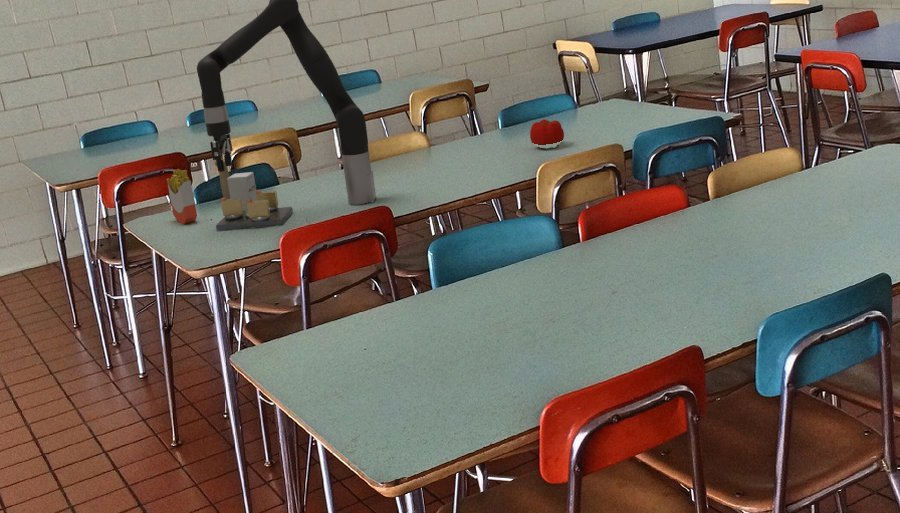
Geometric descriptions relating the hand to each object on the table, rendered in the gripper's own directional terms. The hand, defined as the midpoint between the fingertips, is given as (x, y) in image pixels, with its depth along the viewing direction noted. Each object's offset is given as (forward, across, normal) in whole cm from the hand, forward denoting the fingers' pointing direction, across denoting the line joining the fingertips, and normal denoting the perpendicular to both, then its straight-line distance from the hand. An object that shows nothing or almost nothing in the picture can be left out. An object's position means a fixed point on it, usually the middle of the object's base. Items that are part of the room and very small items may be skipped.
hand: (225, 168), depth 345 cm
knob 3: (+16, -7, -11) cm, 21 cm away
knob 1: (+16, -1, 0) cm, 16 cm away
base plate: (+19, -1, -7) cm, 20 cm away
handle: (+19, +34, +12) cm, 41 cm away
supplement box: (+19, +17, +1) cm, 25 cm away
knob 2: (+16, +5, -11) cm, 20 cm away
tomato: (+18, +76, -105) cm, 131 cm away
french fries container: (+19, +8, +20) cm, 28 cm away
